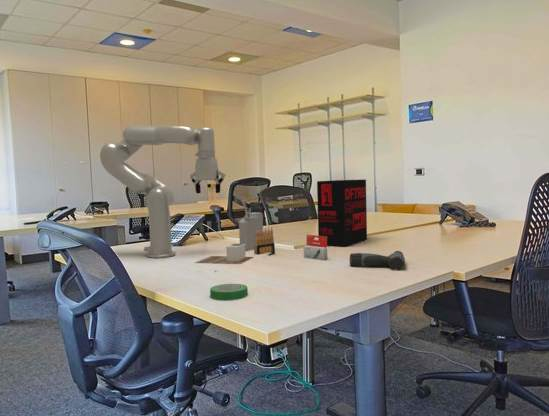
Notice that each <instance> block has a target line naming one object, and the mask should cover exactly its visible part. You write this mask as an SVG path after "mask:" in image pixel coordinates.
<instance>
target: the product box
mask: <svg viewBox="0 0 549 416" xmlns="http://www.w3.org/2000/svg"><path fill="white" fill-rule="evenodd" d="M316 191H317V194H316V195H317V198H316V199H317V227H318V229H317V230H318V233H317V236H327V247H332V246H333V248H334V247H335V248H336V247H337V248H347V247H351V246H354V245H356V243H357V244H359V242H360V243H363V242H365V240H366V241H367V240H368V230H367V229H368V226H367V225H368V223H367V220H368V219H367V218H368V217H367V179H338V180H337V179H336V180H318V181H316ZM317 240H320V239H319V238H317ZM362 241H363V242H362Z"/></svg>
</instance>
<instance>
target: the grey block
mask: <svg viewBox="0 0 549 416" xmlns="http://www.w3.org/2000/svg"><path fill="white" fill-rule="evenodd" d="M225 250H226V256H227V262H239V261H241V260H243V259H245V257H246V250H245V244H240V243H233V244H230V245H227V246H225Z"/></svg>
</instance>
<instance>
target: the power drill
mask: <svg viewBox="0 0 549 416" xmlns="http://www.w3.org/2000/svg"><path fill="white" fill-rule="evenodd" d="M405 262H406V259H405V255H404V253H403V252H402V251H401V250H400V251H399V250H395V251H394V252H392V253H391V254H389V255H387V256H386V255H382V254H376V253H370V252H369V253H363V252H362V253H361V252H356V253H354V252H353V253H350V254H349V266H350V267H356V266H364V268H378V266H379V267H383V266H389V268H390V269H391V270H393V269H397V270H396V271H401V270H402V269H403V268H404V266H405Z"/></svg>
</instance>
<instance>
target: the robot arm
mask: <svg viewBox="0 0 549 416" xmlns="http://www.w3.org/2000/svg"><path fill="white" fill-rule="evenodd" d="M122 138H123V139H122V140H120V141H119V142H112V141H111V142H107V143H105V144H104V145H103V146H102V147H101V149H100V152H99V153H100V154H99V159H100V162H101V165H102V167H103V169H104V170H105V171H106V172H107V173H108V174H110V175H111V176H112V177H113V178H115V179H116V180H117V181H119V182H120V183H121V184H122V185H124V186H125V187H127V188H128V189H129V190H131V191H132V192H133V193H135V194H138V195H145V196H146V206H147V212H148V213H147V214H148V223H149V224H148V225H149V244H150V245H149V246H144V248H143V251H144V252H148V253H147V255H146V256H147V258H153V259H157V258H160V259H161V258H169V257H173V256H175V255H176V251H173V247H172V229H171V226H172V225H171V214H170V213H171V212H170V205H172V203H173V202H174V200H175V195H174V192H173V190H172V189H171V188H169V187H168V186H167V185H165V184H164V183H163V182H161V181H160V180H158V179H157V178H155V177H154V176H153V175H151V174H149V173H143V172H140V171H138V170H137V169H135V168H134V167H132V166H131V165H130V164H128V163H126V162H125V161H127V160H129V159H130V158H131V157H132V156H133V155H134V154H135V153H136V152H138V150H139V149H141V148H142V146H161V145H164V144H184V145H188V146H194V145H195V146H196V145H197V153H195V157H197V158H196V161H195V171H194V172H193V173H191V174H190V175H189V178H190V180H191V182H192V183H193V184H194V186H195V192H196V193H195V194H201V193H202V190H201V184H200V183H201V182H202V181H214V182H215V183H216V184H215V193H216V194H220V193H221V184H222V182H223V181H224V180H225V177H226V173H224V172H222V171H220V170H219V165H218V160H217V158H216V154H215V153H216V152H215V151H216V150H215V132H214V128H212V127H199V128H198V129H197V128H196V129H195V128H191V127H189V126H181V125H178V126H177V125H165V126H164V125H156V126H155V125H129V126H126V127H125V128H124V129H123V131H122Z"/></svg>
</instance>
